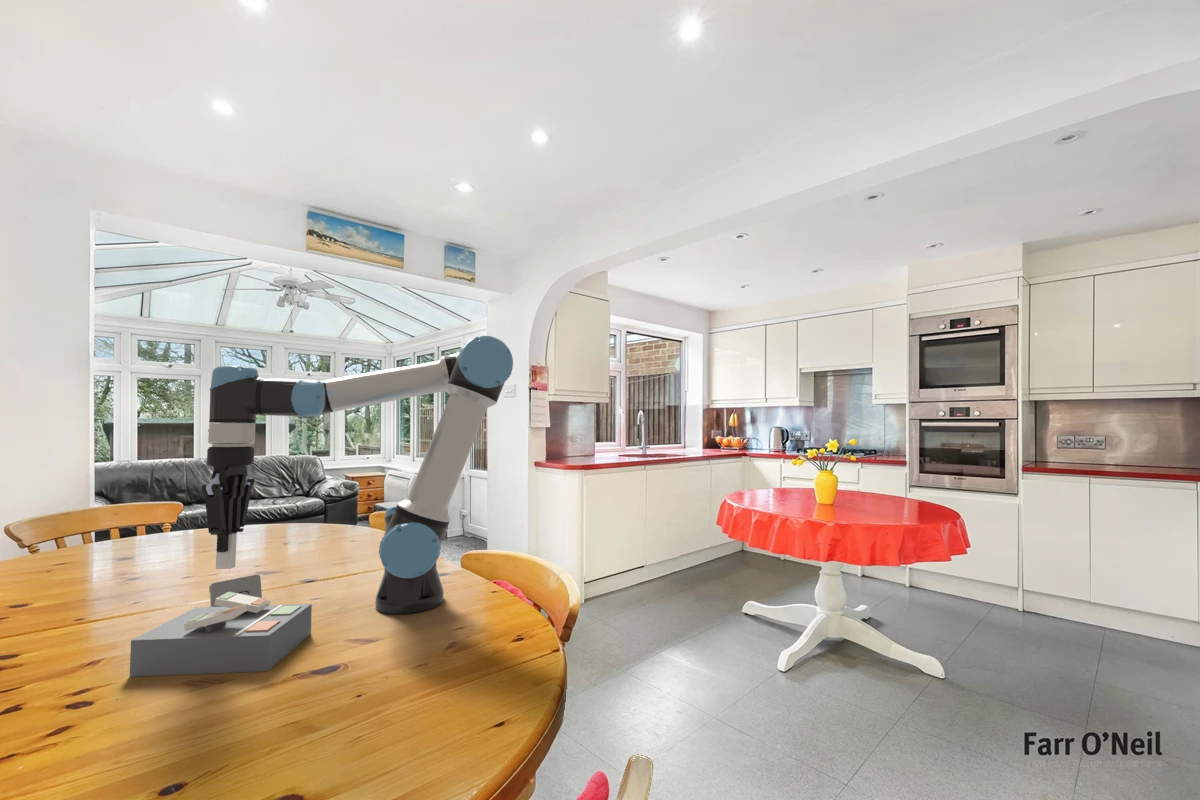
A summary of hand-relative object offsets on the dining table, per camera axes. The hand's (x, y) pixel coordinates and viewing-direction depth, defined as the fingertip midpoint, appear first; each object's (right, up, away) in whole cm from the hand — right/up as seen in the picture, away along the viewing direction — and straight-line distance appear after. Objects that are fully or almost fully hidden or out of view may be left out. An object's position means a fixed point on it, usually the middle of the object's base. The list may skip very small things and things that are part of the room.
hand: (225, 567), depth 100 cm
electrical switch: (-7, -16, +12) cm, 21 cm away
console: (+4, -14, -4) cm, 16 cm away
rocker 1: (+4, -6, -8) cm, 11 cm away
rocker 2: (+3, -7, 0) cm, 7 cm away
